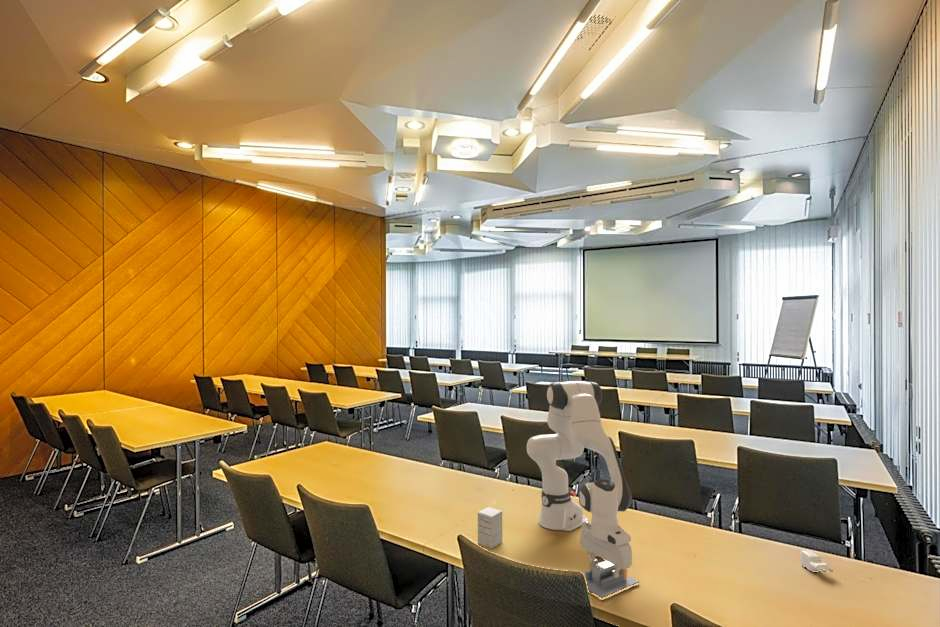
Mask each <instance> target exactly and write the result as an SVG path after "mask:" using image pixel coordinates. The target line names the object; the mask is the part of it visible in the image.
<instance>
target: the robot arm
mask: <svg viewBox="0 0 940 627" xmlns="http://www.w3.org/2000/svg"><path fill="white" fill-rule="evenodd" d="M546 398H547V403H548V404H549V409H548V414H547V421H546V422H547V425H548V427H549V429H551V430H552V431H553V432H555V433H551V434H550V433H549V434H537V435H535V436H531V437H530V438H528V440H527V443H526V453H527V455H528V456H529V457H530V459H531V460H533V461H534V463H536V464H537V466H538V467H539V469H540V472H541V479H542V481H541V483H542V489H541V507H540V508H541V509H540V513H539V519H538V524H539V525H540V526H541V527H543V528H546V529H547V530H548V529H549V530H554V531H565V532H566V531H567V532H570V531H573V530H575V529H578V528H579V527H581V530H580V536H579V545H580V548H582V549H584V550H585V551H587V554H588V557H589V559H590V565H591V566H593V565H596V564H598V559H597V558H596V557H598V556H599V557H598V558H600V557H601V559H603V560H604V561H608V562H610V563H612V564H614V567H615V568H616V569H615V570H614V571H612V576H613V577H615V578H617V577H619V571H620V570H621V569H629V568H630V567H631V566H632V564H633V553H632V545H630V542H631V541H632V540H631V539H632V538H631V534H629V533H628V532H626V531H625V530H624V529H623V528H622V527H621V526H620V525H619V519H618V512H625V511H627V510H628V509H629V508H630V506H631V504H632V502H633V495H632V491H631V490H630V487H629V485H628V482H627V480H626V478H625V473H624V471H623V467H622V464H621V461H620V458H619V454H618V452H617V448H616V446H615V443H614V441H613V439H612V437H610V436H608V435H607V434H606V432H605V431H604V429H603V426H602V418H601V412H600V410H599V409H600V408H599V405H600V404H601V403H602V400H603V391H602V388H601V386H600V385H599V383H597V382H595V381H583V380H571V381H569V380H568V381H555V382H552V383H550V384H549V385H548V386H547V391H546ZM585 449H588V450H591V451H594V452H596V453H597V454H599V455H601V456H602V457H603V458H604V460H605V462H606V466H607V470H608V472H609V477H610V479H611V480H609V479H605V478H598V479H596V480H594V481H593V482H587V483H583V484H582V485H581V486H580V487H579V489H578V502H579V504H578V503H577V502H576V501H574V499H572V498H574V497H575V496H576V492H575V491H572V490H569V476H568V473H567V471H566V470H565V469H564V468H562V467H560V466H558V465H557V461H559V460H571V459H572V460H573V459H575V458H579V457H581V456H582V455H583V453H584V450H585ZM583 509H584V510H585V511H587V512H588V513H591V520H590V522H589V519H588V518H587V517H586V516H585V515H584V513H583Z"/></svg>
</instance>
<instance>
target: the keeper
mask: <svg viewBox="0 0 940 627" xmlns="http://www.w3.org/2000/svg"><path fill="white" fill-rule="evenodd" d="M627 569H628V568H627ZM627 569H621V570H620V571H619V577H617V578H615V577H613V576H610V577H607V578H605V579H602V580H601V585H598V584H597V583H595V582H593V581H592V568H591V569H588V570H585V572H583V573H582V574H584V576H585V578H586V581H587V586H588V590H589V592H590V593H594V594H596V595H598V596H599V597H601V598H603V597H606V596H608V595H610V594H613V593H615V592H617V591H619V590H622V589H624V588H626V587H628V586H631V585H634V584H636V583H639V584H640V581H639V580H637V579H635V578H634V577H632V576H630V575H627V571H628V570H627Z"/></svg>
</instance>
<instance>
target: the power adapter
mask: <svg viewBox="0 0 940 627" xmlns="http://www.w3.org/2000/svg"><path fill="white" fill-rule="evenodd" d="M799 558H800V566H801V565H803V566H804V567H806V568H807V569H809V570H811V571H819V570H821V571H822V572H824V573H827V570H828V571H830V573H833V572H834V570H833V569H832V568H830V566H829V565H828V564H827V563H826V562H823V561H822V558H821V556H820V555H818V554H817V553H815V552H814V551H812V550H810V549H808V550H806V549H804V550H801V551H800V557H799ZM804 567H803V568H804ZM807 569H806V570H807Z"/></svg>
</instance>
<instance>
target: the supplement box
mask: <svg viewBox="0 0 940 627" xmlns="http://www.w3.org/2000/svg"><path fill="white" fill-rule="evenodd" d="M502 543H503V510H500V509H496V508H493V507H490V506H487V507H486V508H484V509H481V510H479V511H477V544H478V545H481V546H483V547H487V548H489V549H493V548H495V547H497V546H499V545H501V544H502Z"/></svg>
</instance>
